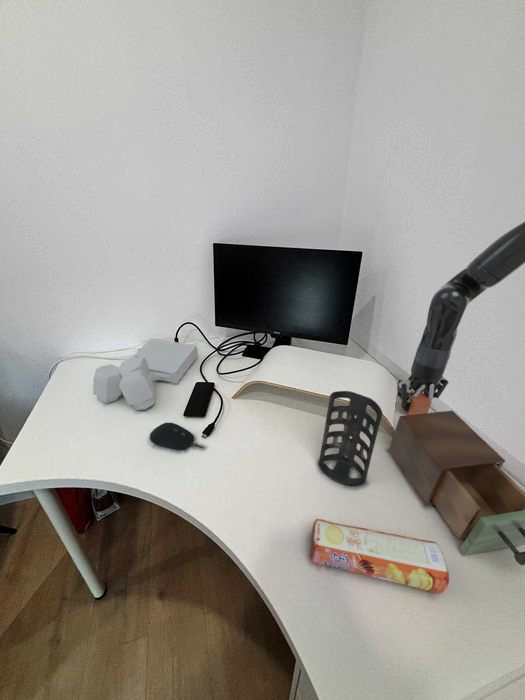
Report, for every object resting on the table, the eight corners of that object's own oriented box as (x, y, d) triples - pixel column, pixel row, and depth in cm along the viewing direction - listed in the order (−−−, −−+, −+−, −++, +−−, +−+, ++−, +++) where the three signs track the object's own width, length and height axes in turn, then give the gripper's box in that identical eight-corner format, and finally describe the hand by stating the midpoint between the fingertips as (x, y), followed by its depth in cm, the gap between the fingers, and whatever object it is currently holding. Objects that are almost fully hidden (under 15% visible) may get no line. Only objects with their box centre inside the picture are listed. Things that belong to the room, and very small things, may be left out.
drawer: (550, 574, 50) (582, 544, 45) (486, 587, 48) (512, 557, 43) (469, 480, 65) (486, 450, 60) (418, 487, 64) (432, 457, 59)
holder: (314, 475, 66) (327, 403, 58) (319, 453, 73) (332, 385, 65) (364, 492, 63) (386, 417, 55) (365, 467, 70) (385, 397, 61)
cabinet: (482, 497, 63) (505, 460, 57) (424, 505, 61) (442, 469, 55) (437, 444, 75) (452, 410, 69) (388, 450, 73) (399, 415, 68)
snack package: (308, 568, 51) (312, 547, 47) (311, 529, 56) (314, 509, 53) (441, 601, 47) (455, 582, 44) (430, 557, 53) (441, 536, 49)
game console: (200, 355, 109) (194, 326, 101) (151, 420, 84) (139, 388, 77) (153, 347, 113) (145, 319, 106) (94, 407, 89) (77, 375, 81)
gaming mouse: (197, 457, 71) (195, 446, 69) (145, 442, 75) (142, 431, 73) (208, 439, 76) (207, 427, 74) (160, 425, 80) (157, 414, 78)
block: (416, 403, 87) (420, 390, 85) (426, 415, 83) (431, 401, 80) (400, 405, 87) (404, 391, 84) (410, 416, 82) (415, 403, 80)
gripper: (414, 369, 72) (397, 420, 80) (466, 364, 74) (445, 415, 82) (397, 354, 78) (384, 403, 87) (445, 350, 80) (428, 398, 89)
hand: (413, 408), depth 85 cm, fingers closed on block, 5 cm apart
